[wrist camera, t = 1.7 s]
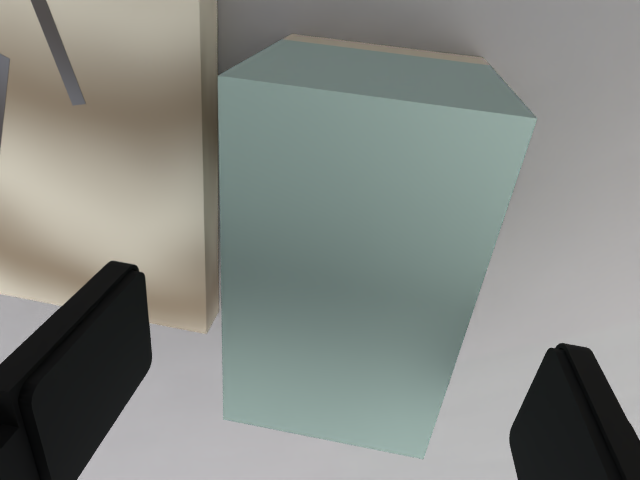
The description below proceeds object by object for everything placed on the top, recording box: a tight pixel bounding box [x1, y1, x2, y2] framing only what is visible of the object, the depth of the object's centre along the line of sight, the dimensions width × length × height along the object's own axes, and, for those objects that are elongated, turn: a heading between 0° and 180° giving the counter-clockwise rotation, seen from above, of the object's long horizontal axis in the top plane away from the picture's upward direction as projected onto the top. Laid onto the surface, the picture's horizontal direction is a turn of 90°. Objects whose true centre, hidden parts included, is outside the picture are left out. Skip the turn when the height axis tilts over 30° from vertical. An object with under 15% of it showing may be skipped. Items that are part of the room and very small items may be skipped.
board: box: [0, 0, 219, 334], centre depth 16 cm, size 20×13×2 cm, turn 174°
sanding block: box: [218, 34, 537, 459], centre depth 14 cm, size 10×6×7 cm, turn 175°
